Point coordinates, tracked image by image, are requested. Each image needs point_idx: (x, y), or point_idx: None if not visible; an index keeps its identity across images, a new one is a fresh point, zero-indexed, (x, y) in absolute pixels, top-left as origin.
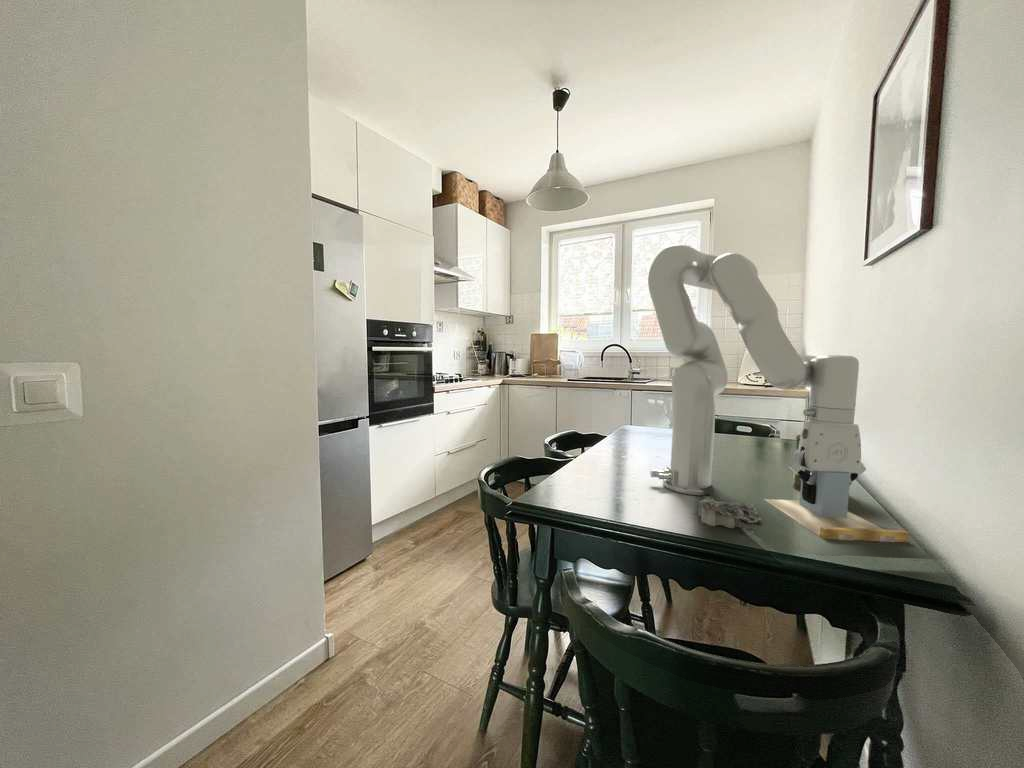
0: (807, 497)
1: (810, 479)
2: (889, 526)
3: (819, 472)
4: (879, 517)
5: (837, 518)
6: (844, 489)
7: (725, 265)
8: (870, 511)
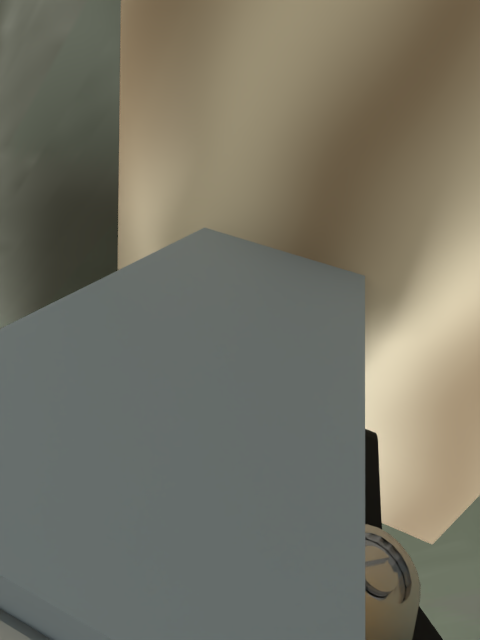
0: (367, 431)
1: (390, 613)
2: (22, 170)
3: None
4: (5, 267)
5: (273, 230)
6: (110, 316)
7: None
8: (4, 321)
